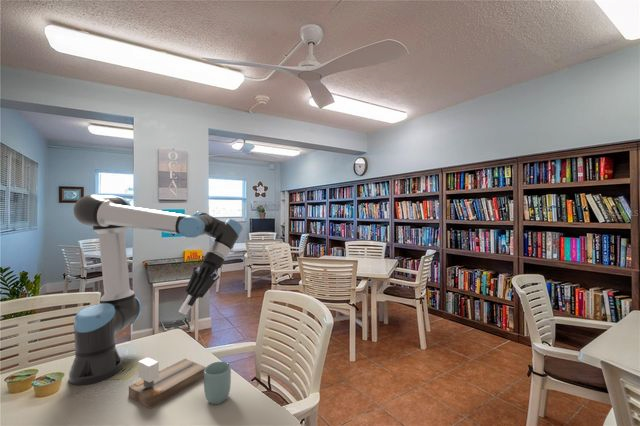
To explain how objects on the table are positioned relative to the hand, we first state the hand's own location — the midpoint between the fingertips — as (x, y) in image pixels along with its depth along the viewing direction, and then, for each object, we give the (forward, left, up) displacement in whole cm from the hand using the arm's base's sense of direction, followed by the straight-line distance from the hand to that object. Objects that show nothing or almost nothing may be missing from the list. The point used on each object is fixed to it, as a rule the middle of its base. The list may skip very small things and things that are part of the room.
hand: (182, 313), depth 107 cm
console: (+3, -7, -22) cm, 23 cm away
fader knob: (+3, -14, -18) cm, 23 cm away
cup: (+23, -4, -22) cm, 32 cm away
